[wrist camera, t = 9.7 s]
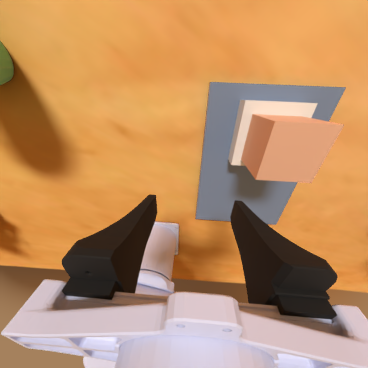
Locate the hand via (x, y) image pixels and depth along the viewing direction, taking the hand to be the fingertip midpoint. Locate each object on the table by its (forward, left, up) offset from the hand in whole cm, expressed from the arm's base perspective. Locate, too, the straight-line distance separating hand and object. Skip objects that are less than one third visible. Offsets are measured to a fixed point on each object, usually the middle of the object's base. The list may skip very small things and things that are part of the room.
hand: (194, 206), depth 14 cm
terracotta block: (+5, -8, -7) cm, 11 cm away
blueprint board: (0, -8, -9) cm, 12 cm away
